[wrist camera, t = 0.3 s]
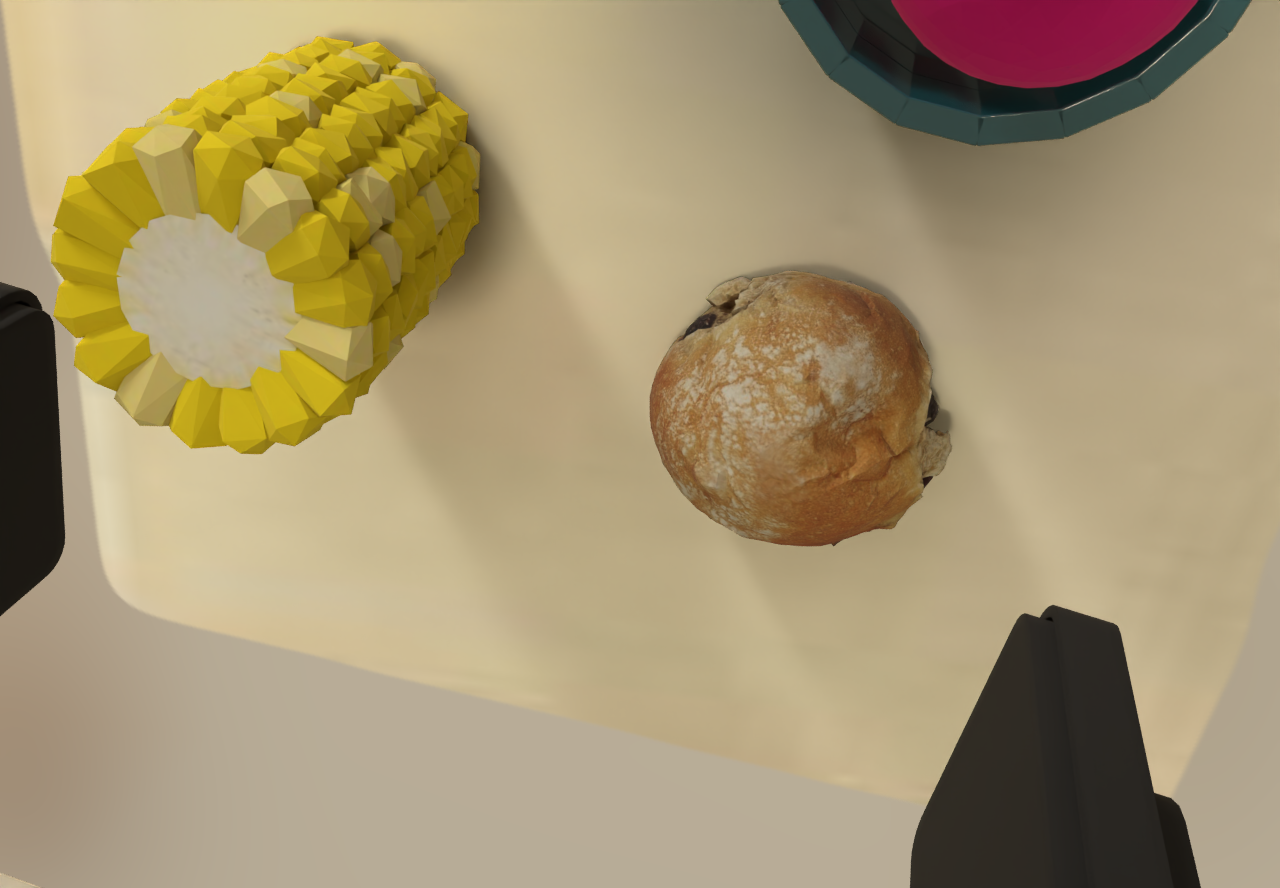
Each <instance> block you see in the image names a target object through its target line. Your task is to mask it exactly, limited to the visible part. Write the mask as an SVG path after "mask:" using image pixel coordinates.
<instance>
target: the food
mask: <svg viewBox="0 0 1280 888" xmlns="http://www.w3.org/2000/svg"><path fill="white" fill-rule="evenodd" d="M435 84H436V79H435V78H434V77H433V76H432V75H430V74H429V73H428V72H427V71H426V70H425V69H423V68H422V67H421V66H420V65H419V64H417V63H412V62H402V61H401V60H400V59H399V58H398V57H397V56H395V55H394V54H393V53H391V52H390V51H389V50H388V49H386V48H385V47H384V46H382V45H381V44H380V43H378V42H376V41H375V42H372V43H368V44H364V45H361V46H357V47H354V44H353V42H349V41H343V40H337V39H331V38H325V37H318V36H317V37H316V38H315V39H314V41H313V42H312V43H311V44H307V45H305V46H303V47H300V46H299V47H297V48H296V49H294V50H292V51H290V52H288V53H286V54H285V55H283V54H278V53H272V52H269V53H268V54H267V55H266V56H265V57H264V59H263V60H262V61H261V62H260V63H259V64H258V65H257V66H255V67H252V68H249V69H246V70H243V71H240V72H236V71H234V72H232V73H231V74H230V75H229V76H227V77H226V78H225V79H224V80H223V81H221V80H216V81H215V82H213V83H211V84H210V85H208V86H207V87H205V88H204V89H200V88H198V90H197V91H196V92H195V93H194V95H193V96H192V97H191V98H190V99H179V98H177V99H176V100H174V101H173V102H172V103H171V104H170V105H168V106H167V107H166V108H165V109H164V110H163V111H161V114H159V115H157V116H154V117H152V118H149V119H147V122H146V124H145V127H139V128H126V129H125V130H124V131H123V132H122V133H121V134H120V135H119V136H118V137H117V138H116V139H115V140H114V141H113V142H112V143H111V144H109V145H108V146H107V147H106V149H105V150H104V151H103V152H102V153H101V154H100V155H99V157H98V158H97V159H96V160H95V161H94V162H93V163H92V164H91V166H90V167H89V168H88V169H87V170H86V171H84V172H82V175H81V176H68V179H67V182H66V186H65V189H64V192H63V195H62V199H61V202H60V205H59V209H58V212H57V215H56V218H55V222H54V225H53V226H55V227H57V228H58V229H57V230H56V231H55V233H54V234H53V235H52V251H51V263H52V264H53V265H54V267H55V268H56V269H57V271H58V272H59V273H60V275H61V276H62V277H63V279H64V281H63V283H62V284H61V285H60V286H59V288H58V292H57V298H56V304H55V310H54V315H53V316H54V317H55V318H56V319H57V320H58V321H59V322H60V323H61V324H62V325H63V326H64V327H65V328H67V330H68V331H69V332H70V333H71V334H72V335H73V336H74V337H76V338H81V337H84V338H83V339H82V340H81V341H80V342H79V344H78V345H77V346H76V351H75V361H74V366H75V367H76V368H78V369H79V370H80V371H81V372H83V373H84V374H85V375H86V376H88V377H89V378H90V379H91V380H93V381H94V382H95V383H97V384H100V385H102V386H104V387H107V388H109V389H112V390H114V391H117V393H116V395H115V398H114V399H115V400H116V401H117V402H118V403H119V404H120V405H121V406H122V407H123V408H124V409H125V410H126V411H127V413H128V414H129V415H130V416H131V417H132V418H133V419H134V420H135V421H136V422H137V423H138V424H139V425H140V426H169V427H170V429H171V431H172V432H173V433H174V434H175V435H177V436H178V437H179V438H180V439H181V440H182V441H183V442H184V443H185V444H186V445H188V446H189V447H190V448H191V449H192V448H204V447H217V446H227V445H229V446H230V447H232V448H233V449H235V450H236V451H238V452H239V453H241V454H262V453H264V452H265V451H266V450H267V449H268V448H269V447H271V446H272V445H273V444H274V443H275V442H277V443H282V444H286V445H291V446H296V445H298V444H299V443H301V442H302V441H304V440H305V439H307V438H308V437H310V436H311V435H313V434H314V433H316V432H317V431H319V430H320V429H321V427H322V425H323V424H324V423H326V422H328V421H330V420H332V419H334V418H336V417H338V416H340V415H349V414H351V413H352V409H353V405H354V401H355V398H357V397H359V396H362V395H365V394H368V391H369V386H370V384H371V383H372V382H373V381H374V380H375V378H376V377H377V376H378V375H379V374H380V372H381V371H382V370H383V369H385V368H386V367H387V365H388V364H389V363H390V362H391V361H392V360H393V358H394V357H395V356H396V355H397V354H398V353H399V351H400V350H401V349H402V348H403V343H402V340H401V339H402V338H403V337H404V336H405V335H407V334H408V333H409V332H410V331H411V330H413V329H414V328H415V325H416V324H417V323H418V322H419V321H420V320H422V319H423V318H424V317H425V316H427V315H428V314H429V303H431V302H432V301H434V300H436V299H437V294H438V288H439V287H440V286H441V285H442V284H443V283H444V282H445V281H446V280H447V279H448V278H449V277H450V276H451V268H452V267H453V265H454V264H455V262H456V261H457V259H459V258H460V257H461V256H463V255H464V254H465V240H466V239H467V237H468V234H469V232H470V231H471V229H472V228H473V226H475V225H477V224H479V195H478V194H477V193H476V191H475V189H479V172H480V153H479V152H478V151H477V150H476V149H475V148H474V147H473V146H471V145H469V144H467V143H465V142H466V132H467V123H468V114H467V113H466V112H465V111H464V110H462V109H461V108H460V107H458V106H457V105H456V104H455V103H453V102H452V101H451V100H450V99H448V98H447V97H446V96H445V95H443V94H442V93H441V92H439V91H438V92H437V93H436V92H435Z"/></svg>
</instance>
